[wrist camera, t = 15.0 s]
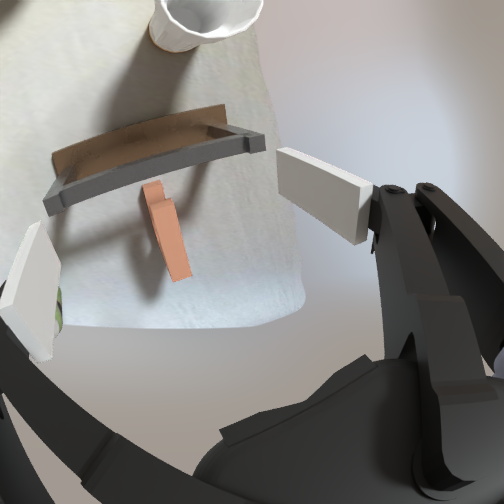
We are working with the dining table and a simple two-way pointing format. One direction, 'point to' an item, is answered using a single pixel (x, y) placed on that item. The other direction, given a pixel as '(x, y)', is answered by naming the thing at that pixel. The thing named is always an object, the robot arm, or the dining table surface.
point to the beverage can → (58, 314)
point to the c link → (167, 231)
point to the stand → (145, 153)
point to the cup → (199, 21)
